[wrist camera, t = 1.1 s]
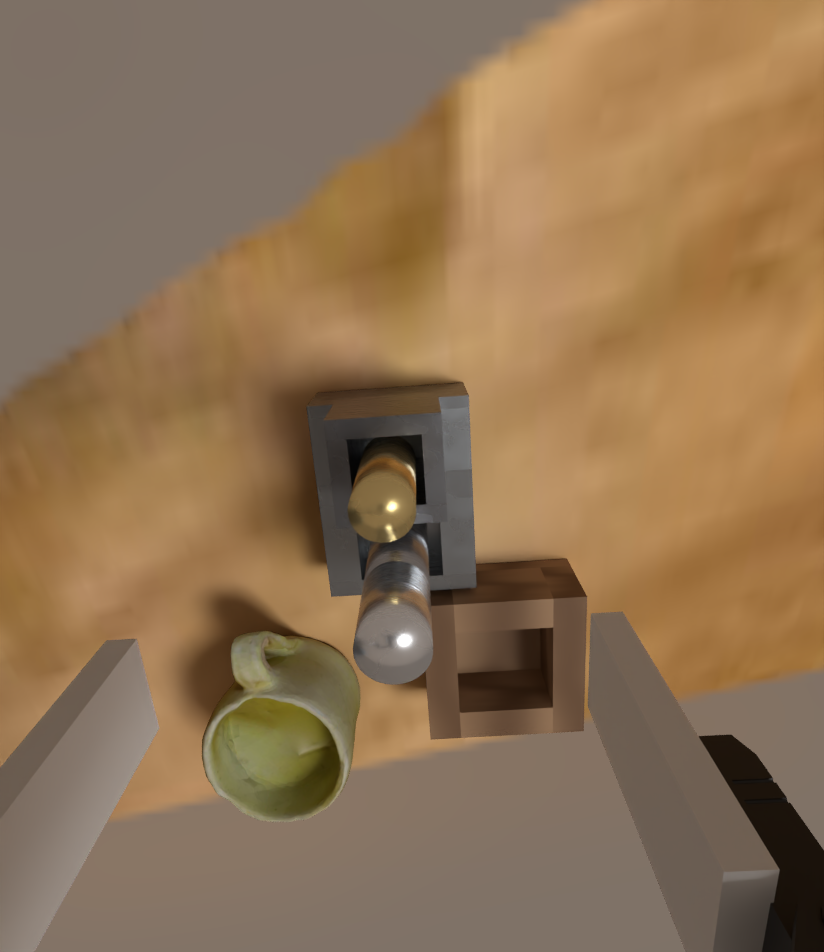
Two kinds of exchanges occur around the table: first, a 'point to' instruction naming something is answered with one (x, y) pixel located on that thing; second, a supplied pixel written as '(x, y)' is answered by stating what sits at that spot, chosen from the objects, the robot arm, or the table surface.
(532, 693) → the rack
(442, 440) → the block
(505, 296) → the table surface
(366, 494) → the yellow capsule
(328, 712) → the mug
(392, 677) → the brushed metal rod
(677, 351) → the table surface
